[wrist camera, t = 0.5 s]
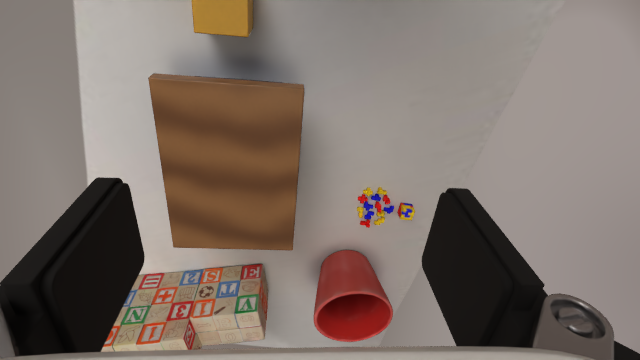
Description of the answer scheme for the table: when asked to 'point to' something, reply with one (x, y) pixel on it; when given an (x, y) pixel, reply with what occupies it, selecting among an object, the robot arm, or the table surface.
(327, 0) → the table surface
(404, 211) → the building blocks
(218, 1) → the mustard block
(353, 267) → the flower pot
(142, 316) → the stack of blocks
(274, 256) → the table surface
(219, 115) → the wooden board
